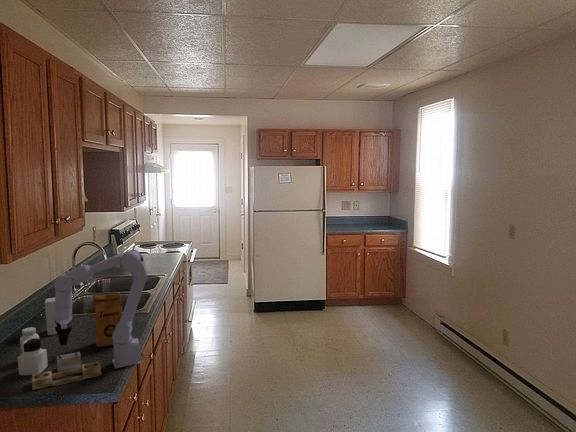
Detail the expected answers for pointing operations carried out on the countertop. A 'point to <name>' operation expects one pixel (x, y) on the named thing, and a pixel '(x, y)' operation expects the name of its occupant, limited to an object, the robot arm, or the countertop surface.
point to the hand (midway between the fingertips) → (62, 341)
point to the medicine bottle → (32, 358)
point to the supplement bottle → (28, 335)
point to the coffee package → (107, 317)
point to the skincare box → (50, 315)
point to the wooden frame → (46, 377)
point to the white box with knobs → (69, 361)
